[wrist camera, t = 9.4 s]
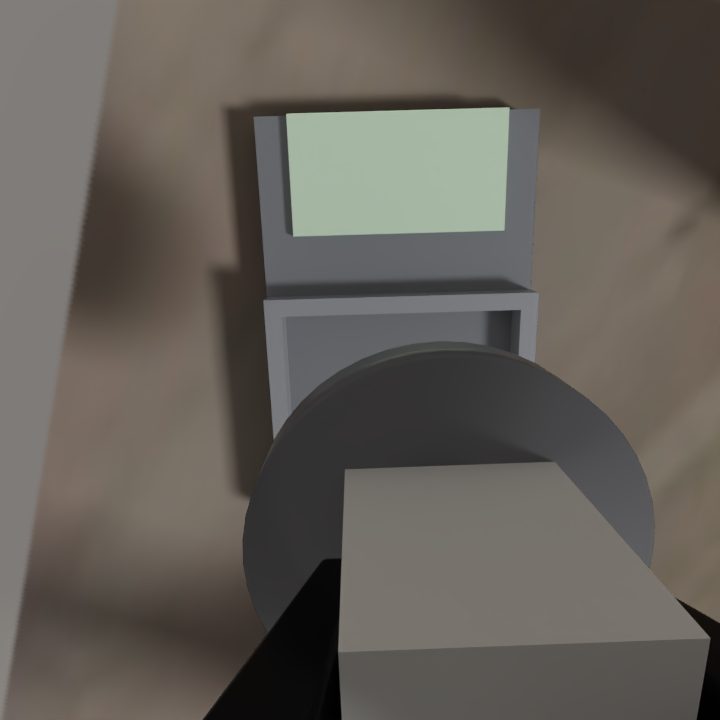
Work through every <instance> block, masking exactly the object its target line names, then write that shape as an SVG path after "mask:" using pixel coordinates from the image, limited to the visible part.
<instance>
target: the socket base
mask: <svg viewBox="0 0 720 720" xmlns="http://www.w3.org/2000/svg"><path fill="white" fill-rule="evenodd" d="M509 109H510V107H503V108H468V109H432V110H396V111H361V112H325V113H290V114H286V116H261V117H254V129H255V143H256V156H257V170H258V184H259V197H260V211H261V225H262V238H263V252H264V266H265V279H266V293H267V298H266V299H265V300H263V304H264V317H265V330H266V344H267V357H268V370H269V384H270V397H271V410H272V423H273V437H274V439H275V437H276V435H277V434H278V432H279V431H280V429H281V427H282V426H283V424H284V423H285V421H286V419H287V418H288V417H289V416H290V415H291V413H292V412H293V411H294V410H295V409H296V407H297V406H298V405H299V404H300V403H301V401H302V400H304V399H305V398H306V397H307V396H308V395H309V394H310V393H311V392H312V391H313V390H314V389H316V388H317V387H318V386H319V385H320V384H321V383H323V382H324V381H326V380H327V379H329V378H330V377H331V376H333V375H334V374H336V373H337V372H339V371H340V370H342V369H344V368H346V367H348V366H349V365H351V364H353V363H355V362H357V361H359V360H361V359H363V358H366V357H368V356H371V355H374V354H376V353H379V352H382V351H385V350H387V349H392V348H396V347H400V346H405V345H409V344H415V343H425V342H435V341H449V342H468V343H474V344H480V345H486V346H491V347H494V348H498V349H501V350H504V351H508V352H511V353H514V354H516V355H518V356H521V357H523V358H525V359H527V360H529V361H532V362H534V363H535V350H536V333H537V316H538V299H539V292H536V291H532V290H531V272H532V254H533V236H534V218H535V200H536V181H537V163H538V145H539V127H540V109H510V110H509Z"/></svg>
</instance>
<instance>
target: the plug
mask: <svg viewBox="0 0 720 720" xmlns="http://www.w3.org/2000/svg"><path fill="white" fill-rule="evenodd" d="M654 530H655V523H654V513H653V502H652V498H651V494H650V490H649V486H648V482H647V478H646V476H645V474H644V471H643V469H642V467H641V464H640V462H639V460H638V457H637V455H636V454H635V452H634V450H633V449H632V447H631V446H630V444H629V442H628V441H627V439H626V438H625V436H624V434H623V433H622V432H621V431H620V430H619V429H618V428H617V426H616V425H615V424H614V423H613V422H612V421H611V419H610V418H609V417H608V416H607V415H606V414H605V413H604V412H603V411H601V410H600V409H599V408H598V407H597V406H596V405H594V404H593V403H592V402H591V401H590V400H589V399H588V398H586V397H585V396H583V395H582V394H581V393H579V392H578V391H576V390H575V389H573V388H572V387H571V386H569V385H568V384H566V383H565V382H564V381H562V380H561V379H559V378H558V377H556V376H555V375H553V374H552V373H550V372H549V371H547V370H545V369H544V368H542V367H541V366H539V365H538V364H536V363H534V362H532V361H529V360H527V359H525V358H523V357H521V356H518V355H516V354H514V353H511V352H508V351H504V350H501V349H498V348H494V347H491V346H486V345H480V344H474V343H468V342H449V341H435V342H425V343H415V344H409V345H405V346H400V347H396V348H392V349H387V350H385V351H382V352H379V353H376V354H374V355H371V356H368V357H366V358H363V359H361V360H359V361H357V362H355V363H353V364H351V365H349V366H348V367H346V368H344V369H342V370H340V371H339V372H337V373H336V374H334V375H333V376H331V377H330V378H329V379H327V380H326V381H324V382H323V383H321V384H320V385H319V386H318V387H317V388H316V389H314V390H313V391H312V392H311V393H310V394H309V395H308V396H307V397H306V398H305V399H304V400H302V401H301V403H300V404H299V405H298V406H297V407H296V409H295V410H294V411H293V412H292V413H291V415H290V416H289V417H288V418H287V419H286V421H285V423H284V424H283V426H282V427H281V429H280V431H279V432H278V434H277V435H276V437H275V439H274V441H273V443H272V445H271V447H270V450H269V452H268V454H267V457H266V459H265V461H264V464H263V466H262V469H261V471H260V474H259V476H258V479H257V482H256V484H255V487H254V489H253V492H252V495H251V499H250V502H249V506H248V509H247V513H246V517H245V525H244V533H243V565H244V571H245V576H246V582H247V587H248V590H249V593H250V596H251V599H252V602H253V605H254V608H255V610H256V612H257V614H258V616H259V618H260V620H261V622H262V624H263V626H264V628H265V629H266V631H267V632H269V630H270V629H271V628H272V626H273V625H274V624H275V622H276V621H277V620H278V618H279V617H280V616H281V614H282V613H283V612H284V610H285V609H286V608H287V606H288V605H289V604H290V602H291V601H292V600H293V598H294V597H295V596H296V594H297V593H298V592H299V590H300V589H301V588H302V586H303V585H304V584H305V582H306V581H307V580H308V578H309V577H310V576H311V574H312V573H313V572H314V570H315V569H316V568H317V566H318V565H319V564H320V562H321V561H322V560H324V559H330V558H342V563H341V590H340V617H339V645H338V657H339V676H340V695H341V713H342V720H697V714H698V708H699V703H700V697H701V691H702V685H703V680H704V674H705V668H706V662H707V656H708V651H709V645H710V639H711V638H710V637H709V636H708V635H707V634H706V632H705V631H704V630H703V629H702V628H701V627H700V626H699V625H698V623H697V622H696V621H695V620H694V619H693V618H692V617H691V615H690V614H689V613H688V612H687V611H686V610H685V609H684V608H683V606H682V605H681V604H680V603H679V602H678V601H677V600H676V598H675V597H674V596H673V595H672V594H671V593H670V592H669V591H668V589H667V588H666V587H665V586H664V585H663V584H662V583H661V581H660V580H659V579H658V578H657V577H656V576H655V575H654V574H653V572H652V571H651V570H650V569H649V568H650V563H651V558H652V554H653V547H654Z"/></svg>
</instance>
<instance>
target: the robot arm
mask: <svg viewBox="0 0 720 720" xmlns="http://www.w3.org/2000/svg"><path fill="white" fill-rule="evenodd" d="M341 563H342V558H330V559H324V560H322V561H321V562H320V564H319V565H318V566H317V568H316V569H315V570H314V572H313V573H312V574H311V576H310V577H309V578H308V580H307V581H306V582H305V584H304V585H303V586H302V588H301V589H300V590H299V592H298V593H297V594H296V596H295V597H294V598H293V600H292V601H291V602H290V604H289V605H288V606H287V608H286V609H285V610H284V612H283V613H282V614H281V616H280V617H279V618H278V620H277V621H276V622H275V624H274V625H273V626H272V628H271V629H270V630H269V632H268V633H267V634H266V636H265V637H264V639H263V640H262V641H261V643H260V644H259V645H258V647H257V648H256V649H255V651H254V652H253V653H252V655H251V656H250V657H249V659H248V660H247V661H246V663H245V664H244V665H243V667H242V668H241V669H240V671H239V672H238V673H237V675H236V676H235V677H234V679H233V680H232V681H231V683H230V684H229V685H228V687H227V688H226V689H225V691H224V692H223V693H222V695H221V696H220V697H219V699H218V700H217V701H216V703H215V704H214V705H213V707H212V708H211V709H210V711H209V712H208V713H207V715H206V716H205V717H204V719H203V720H342V713H341V695H340V676H339V657H338V645H339V617H340V590H341ZM676 600H677V601H678V602H679V603H680V604H681V605H682V606H683V608H684V609H685V610H686V611H687V612H688V613H689V614H690V615H691V617H692V618H693V619H694V620H695V621H696V622H697V623H698V625H699V626H700V627H701V628H702V629H703V630H704V631H705V632H706V634H707V635H708V636H709V637H710V638H711V639H710V645H709V651H708V656H707V662H706V668H705V674H704V680H703V685H702V691H701V697H700V703H699V708H698V714H697V720H720V623H719V622H717V621H715V620H713V619H712V618H710V617H708V616H706V615H705V614H703V613H701V612H699V611H698V610H696V609H694V608H692V607H691V606H689V605H687V604H685V603H684V602H682V601H680V600H679V599H677V598H676Z"/></svg>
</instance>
